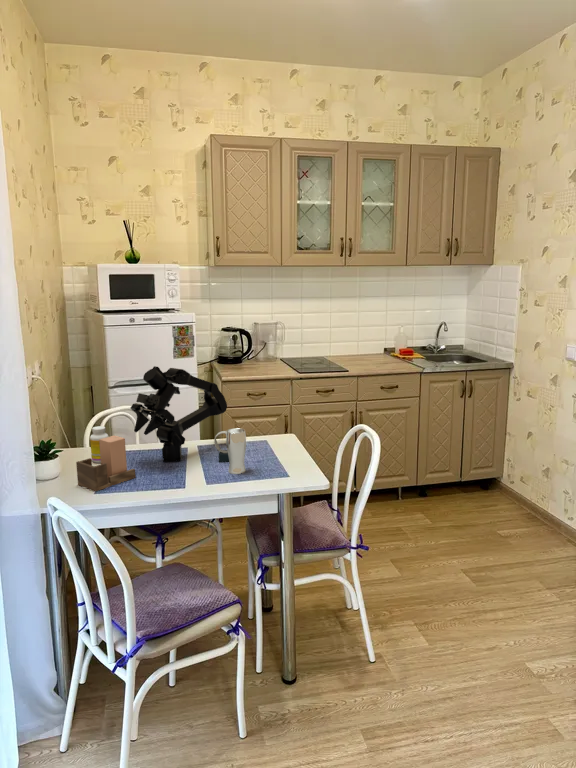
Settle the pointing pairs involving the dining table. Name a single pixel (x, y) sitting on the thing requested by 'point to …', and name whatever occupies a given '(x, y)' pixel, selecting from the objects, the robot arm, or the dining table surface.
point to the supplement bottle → (97, 442)
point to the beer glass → (236, 450)
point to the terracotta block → (113, 454)
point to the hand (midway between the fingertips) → (139, 433)
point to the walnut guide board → (99, 475)
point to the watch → (223, 453)
